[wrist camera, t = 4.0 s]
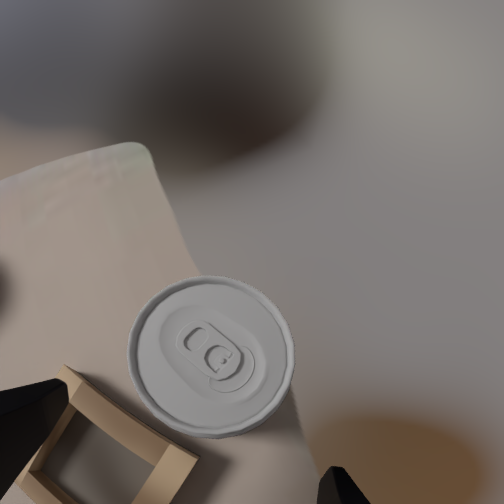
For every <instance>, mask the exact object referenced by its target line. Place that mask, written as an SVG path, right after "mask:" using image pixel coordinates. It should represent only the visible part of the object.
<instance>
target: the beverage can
mask: <svg viewBox="0 0 504 504" xmlns="http://www.w3.org/2000/svg"><path fill="white" fill-rule="evenodd" d="M294 347H295V345H294V340H293V337H292V334H291V331H290V327H289V324H288V323H287V321H286V320H285V318H284V316H283V315H282V313H281V312H280V310H279V309H278V307H277V306H276V305H275V304H274V303H273V302H272V301H271V300H270V299H269V298H268V297H267V296H266V295H265V294H264V293H263V292H261V291H259V290H257V289H256V288H254V287H252V286H250V285H249V284H247V283H245V282H242V281H238V280H235V279H232V278H229V277H223V276H209V275H204V276H198V277H192V278H186V279H183V280H181V281H178V282H176V283H174V284H171V285H169V286H167V287H165V288H164V289H163V290H161V291H160V292H158V293H157V294H156V295H154V296H153V297H152V298H151V299H150V300H149V301H148V302H147V303H146V305H145V306H144V307H143V308H142V309H141V311H140V312H139V313H138V315H137V317H136V319H135V322H134V324H133V326H132V328H131V330H130V334H129V340H128V346H127V360H128V368H129V374H130V377H131V379H132V381H133V384H134V386H135V389H136V391H137V393H138V395H139V396H140V399H141V400H142V401H143V403H144V404H145V405H146V406H147V408H148V409H149V410H150V411H151V412H152V414H153V415H154V416H155V417H156V418H158V419H159V420H161V421H162V422H163V423H165V424H166V425H168V426H169V427H171V428H172V429H174V430H176V431H179V432H182V433H184V434H187V435H190V436H193V437H196V438H209V439H222V438H227V437H232V436H237V435H241V434H243V433H245V432H247V431H249V430H251V429H253V428H255V427H257V426H259V425H261V424H262V423H263V422H265V421H266V420H267V419H268V418H269V417H270V416H271V415H272V414H273V413H274V412H275V411H276V410H277V409H278V408H279V406H280V405H281V403H282V401H283V400H284V398H285V396H286V395H287V393H288V391H289V388H290V384H291V380H292V376H293V372H294V367H295V348H294Z"/></svg>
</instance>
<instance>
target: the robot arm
mask: <svg viewBox="0 0 504 504" xmlns="http://www.w3.org/2000/svg"><path fill="white" fill-rule="evenodd" d="M68 404H69V394H68V386H67V384H66V383H65V382H64V381H62V380H60V379H58V378H54V379H50V380H46V381H42V382H38V383H34V384H30V385H26V386H21V387H17V388H13V389H8V390H3V391H0V500H1V499H2V497H3V496H4V495H5V493H6V492H7V491H8V489H9V488H10V486H11V485H12V484H13V482H14V481H15V480H16V478H17V477H18V476H19V474H20V473H21V472H22V470H23V469H24V468H25V466H26V465H27V464H28V463H29V461H30V460H31V459H32V457H33V456H34V455H35V453H36V452H37V451H38V450H39V448H40V447H41V446H42V444H43V443H44V442H45V441H46V439H47V438H48V437H49V435H50V434H51V432H52V431H53V429H54V427H55V426H56V424H57V422H58V421H59V419H60V417H61V416H62V414H63V413H64V411H65V409H66V408H67V406H68ZM317 504H370V502H369V501H368V500H367V498H366V497H365V496H364V494H363V493H362V492H361V491H360V489H359V488H358V487H357V485H356V484H355V483H354V481H353V480H352V479H351V477H350V476H349V475H348V473H347V472H346V471H345V469H344V468H343V467H337V466H331V467H330V468H329V469H328V470H327V471H326V473H325V474H324V476H323V477H322V478H321V480H320V483H319V489H318V498H317Z"/></svg>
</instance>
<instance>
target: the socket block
mask: <svg viewBox="0 0 504 504" xmlns="http://www.w3.org/2000/svg"><path fill="white" fill-rule="evenodd" d="M55 378H58V379H60V380H62V381H64V382H65V383H66V384H67V386H68V394H69V404H68V406H67V408H66V409H65V411H64V413H63V414H62V416H61V417H60V419H59V421H58V422H57V424H56V426H55V427H54V429H53V431H52V432H51V434H50V435H49V437H48V438H47V439H46V441H45V442H44V443H43V444H42V446H41V447H40V448H39V450H38V451H37V452H36V453H35V455H34V456H33V457H32V459H31V460H30V461H29V463H28V464H27V465H26V466H25V468H24V469H23V470H22V472H21V473H20V474H19V476H18V477H17V478H16V480H15V481H14V482H15V483H16V484H17V485H18V486H19V487H20V488H21V489H22V490H23V491H24V492H25V493H26V494H27V495H28V496H29V497H30V498H31V499H32V500H33V501H34V502H35V503H36V504H170V502H171V501H172V499H173V498H174V496H175V495H176V493H177V492H178V490H179V489H180V487H181V486H182V484H183V483H184V481H185V479H186V478H187V476H188V475H189V473H190V472H191V470H192V469H193V467H194V465H195V464H196V462H197V461H198V459H199V457H200V456H198V455H196V454H195V453H193V452H191V451H189V450H187V449H186V448H184V447H182V446H180V445H179V444H177V443H175V442H174V441H172V440H170V439H169V438H167V437H165V436H164V435H162V434H161V433H159V432H157V431H156V430H154V429H153V428H151V427H150V426H148V425H147V424H145V423H144V422H142V421H141V420H139V419H138V418H136V417H135V416H133V415H132V414H130V413H129V412H128V411H126V410H125V409H123V408H122V407H121V406H119V405H118V404H117V403H115V402H114V401H113V400H111V399H110V398H109V397H107V396H106V395H105V394H104V393H102V392H101V391H100V390H98V389H97V388H96V387H95V386H94V385H92V384H91V383H90V382H89V381H87V380H86V379H85V378H84V377H83V376H82V375H80V374H79V373H78V372H77V371H75V370H73V369H71V368H70V367H68V366H66V365H63V366H62V368H61V369H60V371H59V373H58V374H57V376H56V377H55Z"/></svg>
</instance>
